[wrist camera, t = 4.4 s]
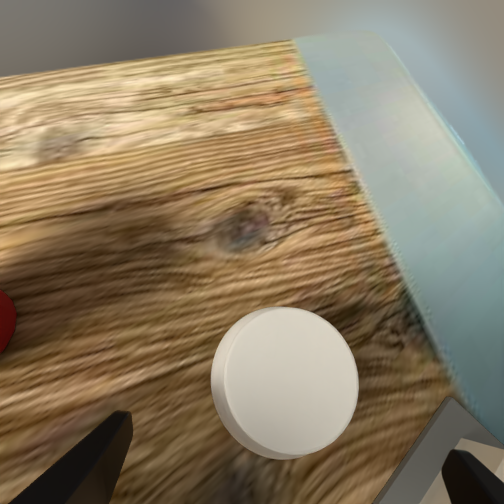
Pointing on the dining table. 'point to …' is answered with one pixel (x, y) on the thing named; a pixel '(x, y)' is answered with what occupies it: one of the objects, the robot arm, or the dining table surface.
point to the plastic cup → (6, 319)
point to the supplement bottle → (284, 382)
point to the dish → (491, 457)
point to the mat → (433, 453)
